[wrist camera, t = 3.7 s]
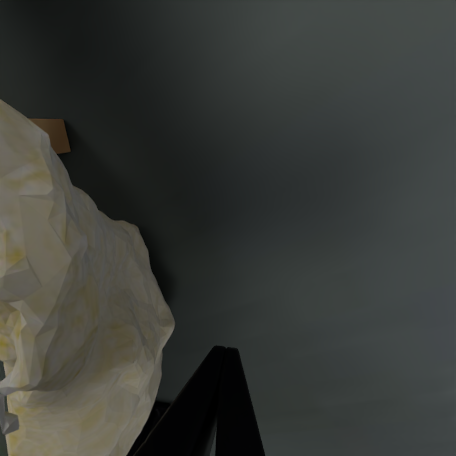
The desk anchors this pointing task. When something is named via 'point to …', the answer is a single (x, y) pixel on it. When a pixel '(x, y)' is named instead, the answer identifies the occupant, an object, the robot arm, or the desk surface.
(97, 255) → the pale lumpy rock
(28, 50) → the desk surface
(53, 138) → the corner stop
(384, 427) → the desk surface
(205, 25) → the desk surface
